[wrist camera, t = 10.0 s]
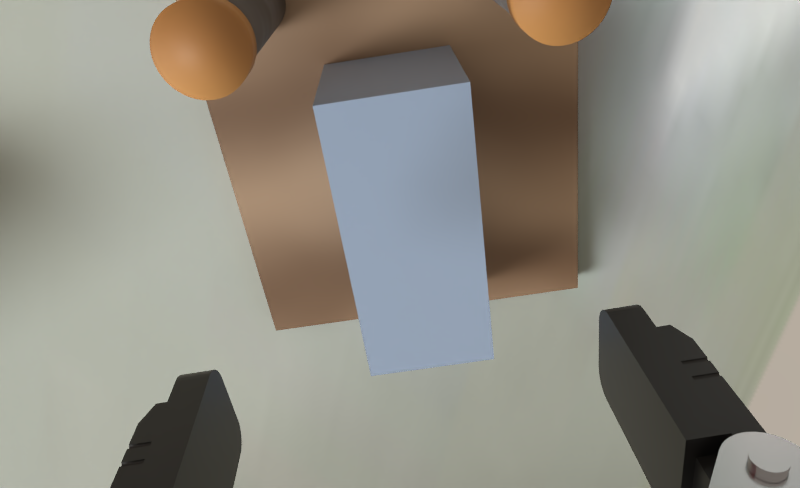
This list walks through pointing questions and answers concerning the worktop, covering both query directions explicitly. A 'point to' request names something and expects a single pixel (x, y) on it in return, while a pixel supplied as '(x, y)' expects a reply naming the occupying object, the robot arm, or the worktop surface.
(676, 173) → the worktop surface
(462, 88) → the rectangular block
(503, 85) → the board
